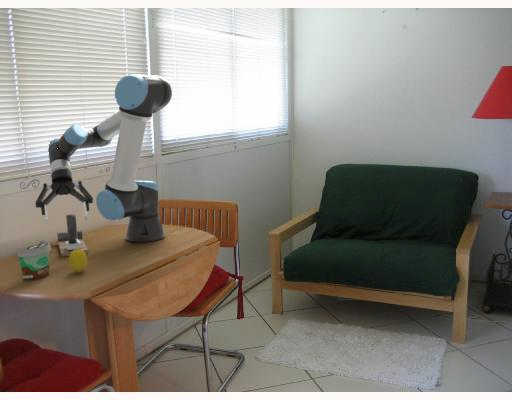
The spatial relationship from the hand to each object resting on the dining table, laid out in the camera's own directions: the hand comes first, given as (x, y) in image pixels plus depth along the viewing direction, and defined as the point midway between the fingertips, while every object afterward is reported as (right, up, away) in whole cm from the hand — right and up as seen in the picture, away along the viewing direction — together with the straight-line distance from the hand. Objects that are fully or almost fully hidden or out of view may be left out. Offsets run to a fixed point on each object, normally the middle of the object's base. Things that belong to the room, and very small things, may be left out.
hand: (66, 219), depth 198 cm
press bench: (+1, -11, +4) cm, 12 cm away
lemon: (+13, -16, -25) cm, 32 cm away
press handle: (+3, -10, -2) cm, 11 cm away
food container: (+2, -17, -28) cm, 33 cm away
